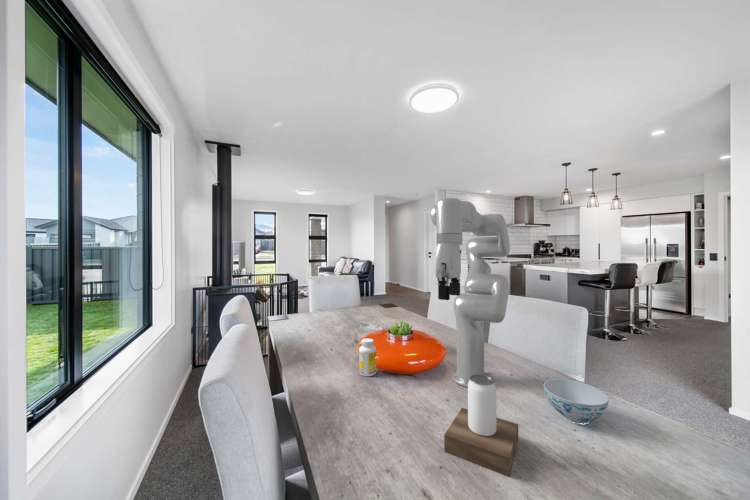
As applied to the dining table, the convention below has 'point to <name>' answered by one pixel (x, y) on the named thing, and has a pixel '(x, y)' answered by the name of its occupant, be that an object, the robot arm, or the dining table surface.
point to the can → (482, 405)
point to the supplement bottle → (367, 358)
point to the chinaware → (576, 400)
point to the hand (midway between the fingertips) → (449, 297)
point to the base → (483, 444)
